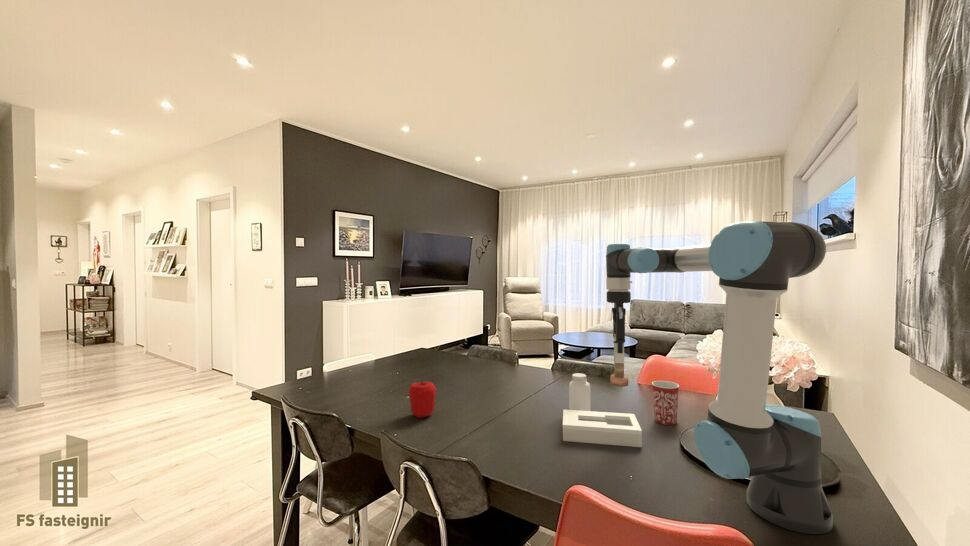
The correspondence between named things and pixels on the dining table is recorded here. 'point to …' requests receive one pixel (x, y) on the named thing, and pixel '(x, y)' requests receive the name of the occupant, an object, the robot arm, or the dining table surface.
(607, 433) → the keyhole board
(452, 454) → the dining table surface
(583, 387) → the pill bottle
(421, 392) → the red cylinder
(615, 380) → the peg
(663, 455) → the dining table surface
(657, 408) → the mug
